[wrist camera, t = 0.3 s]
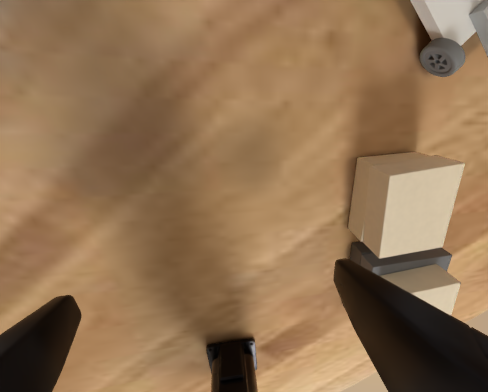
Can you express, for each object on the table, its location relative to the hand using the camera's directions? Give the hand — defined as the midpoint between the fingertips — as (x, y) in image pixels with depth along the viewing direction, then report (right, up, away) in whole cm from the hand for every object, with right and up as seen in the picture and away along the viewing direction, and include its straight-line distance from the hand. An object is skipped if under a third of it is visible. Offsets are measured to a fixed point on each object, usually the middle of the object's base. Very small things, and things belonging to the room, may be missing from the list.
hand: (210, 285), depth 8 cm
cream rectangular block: (+18, -8, +17) cm, 26 cm away
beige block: (+15, +4, +16) cm, 22 cm away
